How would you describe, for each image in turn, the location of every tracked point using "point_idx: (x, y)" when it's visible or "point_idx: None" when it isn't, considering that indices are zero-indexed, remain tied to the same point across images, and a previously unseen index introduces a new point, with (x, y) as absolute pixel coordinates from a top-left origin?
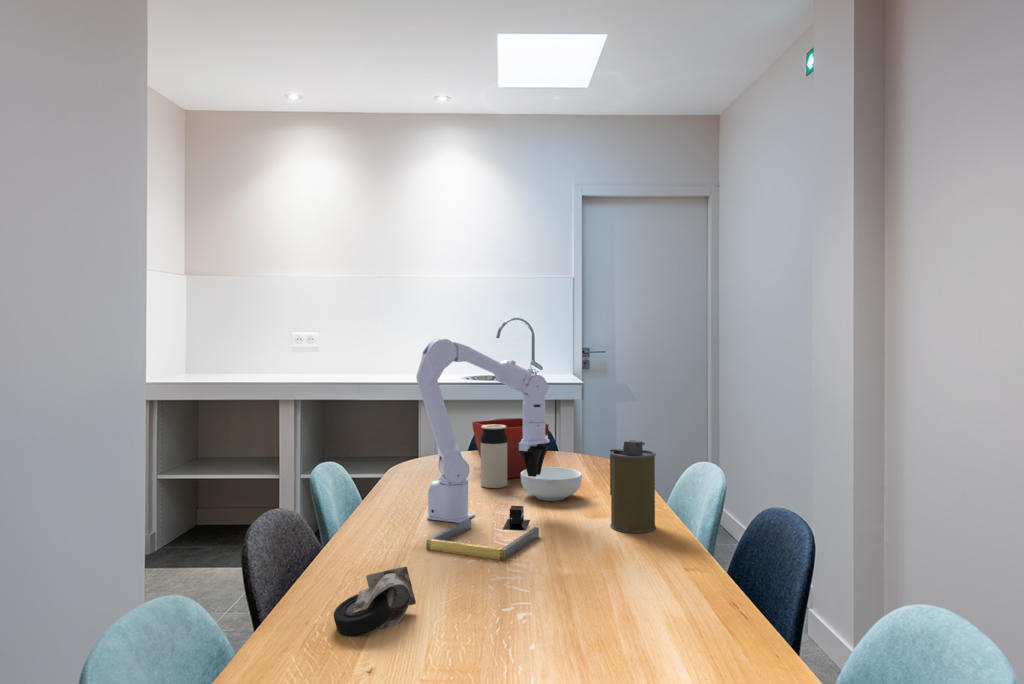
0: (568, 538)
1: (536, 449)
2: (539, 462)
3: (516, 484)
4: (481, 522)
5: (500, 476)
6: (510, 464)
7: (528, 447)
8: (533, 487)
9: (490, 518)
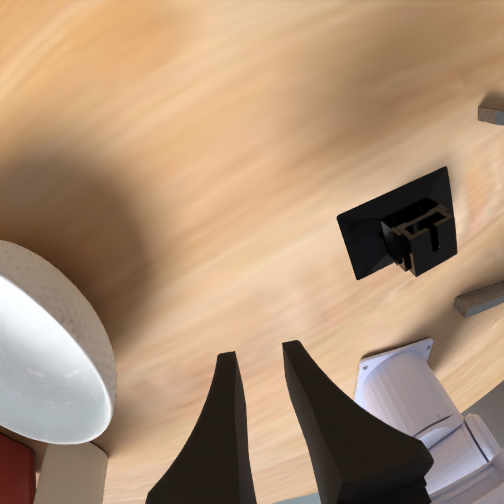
0: (457, 23)
1: (357, 501)
2: (238, 418)
3: None
4: (410, 311)
5: (75, 460)
6: (10, 465)
7: (451, 495)
8: (115, 364)
9: (369, 319)
